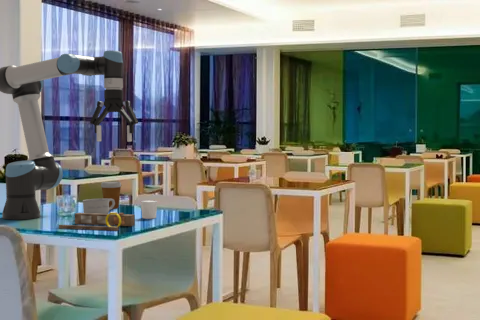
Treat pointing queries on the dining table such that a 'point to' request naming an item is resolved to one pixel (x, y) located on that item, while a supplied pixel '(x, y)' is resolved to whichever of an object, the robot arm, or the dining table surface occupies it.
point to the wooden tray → (100, 221)
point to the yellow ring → (113, 214)
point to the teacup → (98, 205)
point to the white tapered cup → (149, 209)
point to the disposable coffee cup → (111, 192)
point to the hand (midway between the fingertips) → (114, 141)
